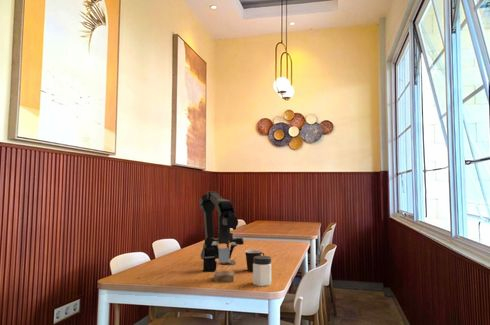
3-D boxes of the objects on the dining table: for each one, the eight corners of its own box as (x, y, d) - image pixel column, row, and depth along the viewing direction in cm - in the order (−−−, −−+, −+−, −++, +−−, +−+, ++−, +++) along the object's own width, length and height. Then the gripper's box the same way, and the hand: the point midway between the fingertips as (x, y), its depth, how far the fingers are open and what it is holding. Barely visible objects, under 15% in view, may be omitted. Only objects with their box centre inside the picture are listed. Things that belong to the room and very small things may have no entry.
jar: (275, 283, 163) (275, 257, 164) (264, 287, 157) (264, 259, 158) (260, 280, 170) (260, 254, 170) (249, 283, 164) (249, 257, 164)
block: (218, 262, 170) (218, 249, 170) (219, 260, 175) (219, 247, 175) (229, 262, 170) (229, 249, 170) (229, 260, 175) (229, 247, 175)
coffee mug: (247, 272, 185) (247, 253, 185) (243, 269, 193) (243, 250, 194) (269, 271, 188) (268, 252, 189) (263, 268, 196) (263, 249, 197)
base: (214, 281, 167) (214, 275, 167) (215, 277, 176) (215, 270, 176) (233, 281, 167) (233, 275, 167) (233, 277, 176) (233, 270, 176)
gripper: (203, 228, 165) (203, 262, 164) (243, 228, 165) (243, 262, 164) (205, 225, 176) (205, 257, 175) (243, 225, 176) (243, 257, 175)
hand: (224, 258), depth 172 cm, fingers closed on block, 5 cm apart
